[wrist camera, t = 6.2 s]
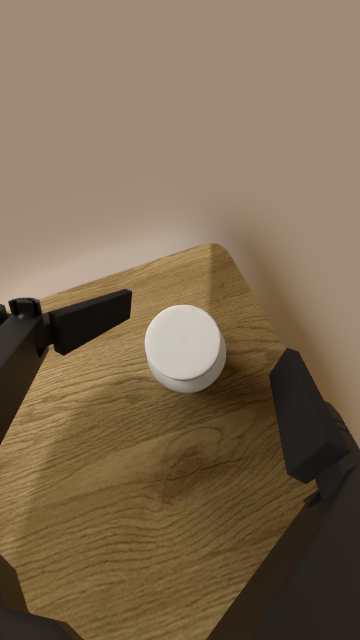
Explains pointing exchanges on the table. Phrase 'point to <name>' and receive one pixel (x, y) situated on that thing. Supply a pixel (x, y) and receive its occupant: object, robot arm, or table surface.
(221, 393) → the table surface
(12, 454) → the table surface
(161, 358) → the pill bottle
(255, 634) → the robot arm
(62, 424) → the table surface
